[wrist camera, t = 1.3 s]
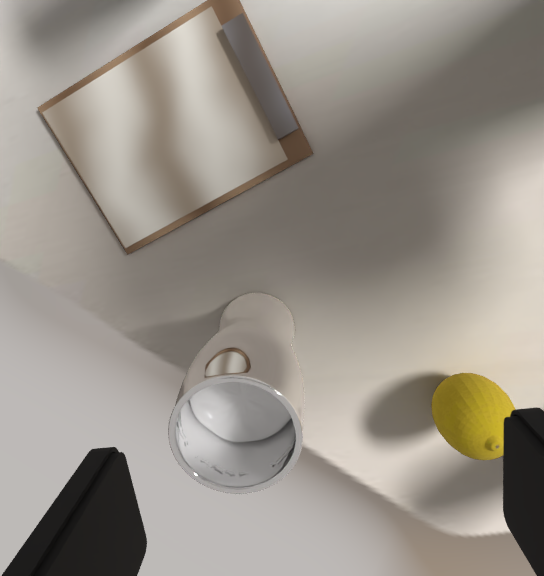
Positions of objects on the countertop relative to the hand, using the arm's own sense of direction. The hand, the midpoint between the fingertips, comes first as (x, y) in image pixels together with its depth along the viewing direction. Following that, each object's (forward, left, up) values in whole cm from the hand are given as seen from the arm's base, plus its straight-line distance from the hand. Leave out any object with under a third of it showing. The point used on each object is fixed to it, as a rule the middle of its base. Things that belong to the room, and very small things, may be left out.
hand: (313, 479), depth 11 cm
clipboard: (+3, -13, -24) cm, 28 cm away
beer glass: (+5, +3, -25) cm, 25 cm away
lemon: (-7, +15, -25) cm, 30 cm away
